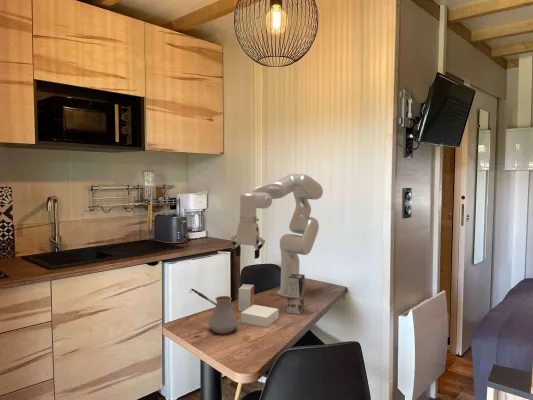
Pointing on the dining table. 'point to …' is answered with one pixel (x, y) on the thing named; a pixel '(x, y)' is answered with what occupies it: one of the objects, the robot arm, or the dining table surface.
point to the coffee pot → (221, 314)
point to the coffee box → (295, 293)
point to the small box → (246, 296)
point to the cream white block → (259, 315)
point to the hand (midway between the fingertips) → (247, 257)
